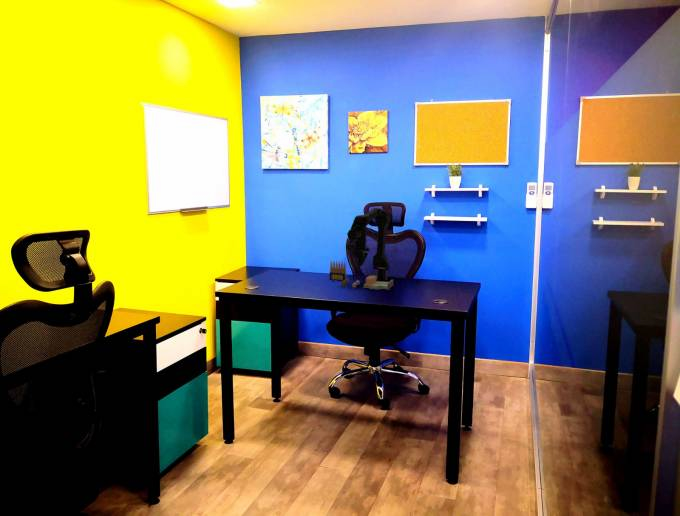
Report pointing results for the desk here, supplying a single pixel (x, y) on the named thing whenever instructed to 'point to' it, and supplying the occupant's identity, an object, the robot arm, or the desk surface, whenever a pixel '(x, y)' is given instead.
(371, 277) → the block
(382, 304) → the desk surface
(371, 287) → the trap board
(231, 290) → the desk surface
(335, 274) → the ammunition clip
